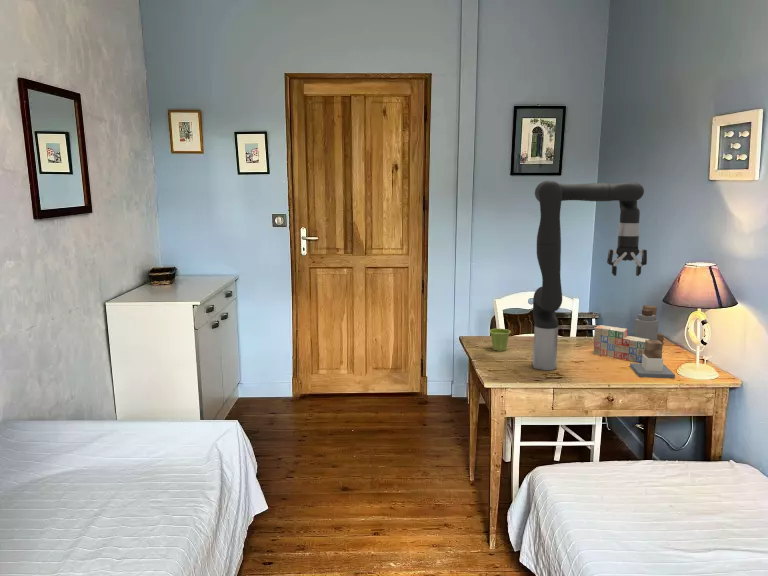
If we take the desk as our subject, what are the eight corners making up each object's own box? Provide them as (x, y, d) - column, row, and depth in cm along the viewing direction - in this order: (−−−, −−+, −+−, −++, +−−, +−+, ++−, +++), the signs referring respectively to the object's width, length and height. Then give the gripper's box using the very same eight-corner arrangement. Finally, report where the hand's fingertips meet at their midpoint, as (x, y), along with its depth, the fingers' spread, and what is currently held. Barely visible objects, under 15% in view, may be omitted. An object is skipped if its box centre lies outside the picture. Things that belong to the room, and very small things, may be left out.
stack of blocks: (648, 360, 242) (650, 332, 239) (643, 363, 237) (645, 335, 235) (598, 351, 256) (600, 324, 254) (592, 354, 251) (594, 327, 249)
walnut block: (648, 358, 222) (649, 343, 221) (644, 354, 227) (645, 339, 226) (661, 358, 222) (662, 343, 221) (657, 354, 226) (658, 340, 225)
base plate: (639, 377, 220) (640, 360, 219) (629, 366, 233) (630, 351, 232) (674, 378, 218) (676, 362, 217) (663, 367, 231) (664, 352, 230)
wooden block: (658, 341, 269) (660, 304, 266) (663, 344, 265) (666, 306, 262) (639, 342, 268) (642, 305, 265) (645, 345, 264) (647, 307, 261)
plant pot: (505, 353, 253) (506, 334, 252) (485, 350, 258) (486, 332, 256) (512, 348, 261) (513, 330, 259) (493, 345, 266) (493, 327, 264)
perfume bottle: (633, 347, 260) (635, 309, 256) (644, 346, 262) (647, 308, 259) (644, 351, 253) (647, 312, 250) (656, 350, 256) (659, 311, 253)
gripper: (644, 233, 224) (642, 274, 227) (607, 233, 226) (604, 274, 229) (650, 235, 217) (647, 277, 220) (611, 235, 219) (609, 276, 222)
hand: (625, 275), depth 224 cm, fingers open, 8 cm apart
